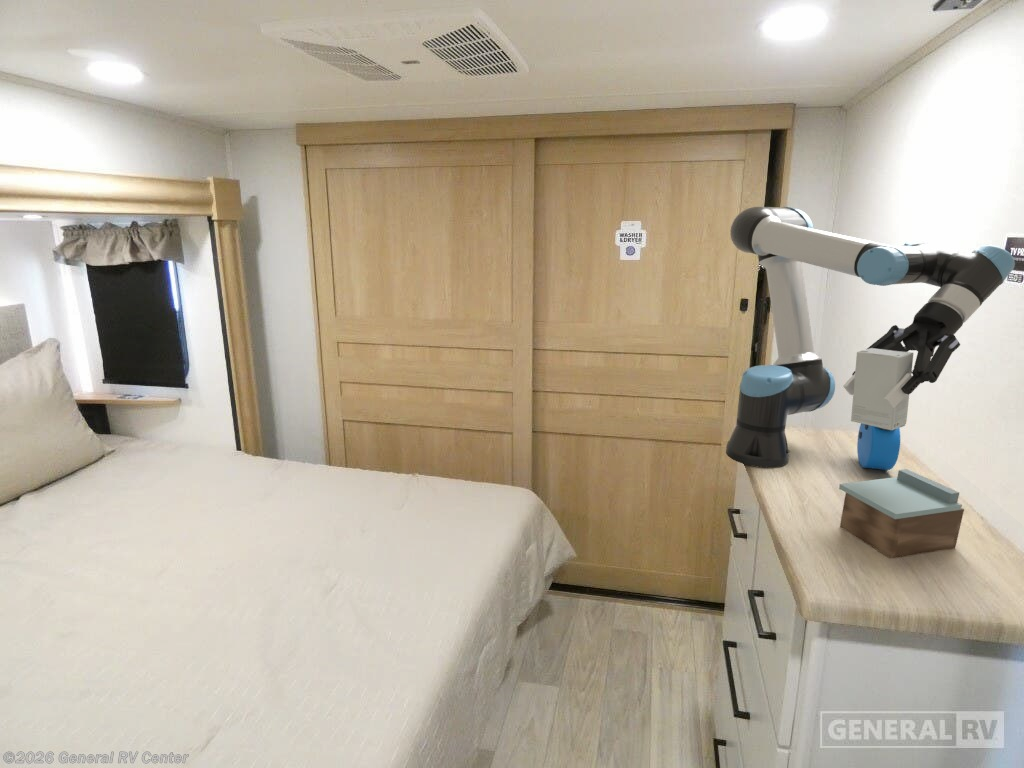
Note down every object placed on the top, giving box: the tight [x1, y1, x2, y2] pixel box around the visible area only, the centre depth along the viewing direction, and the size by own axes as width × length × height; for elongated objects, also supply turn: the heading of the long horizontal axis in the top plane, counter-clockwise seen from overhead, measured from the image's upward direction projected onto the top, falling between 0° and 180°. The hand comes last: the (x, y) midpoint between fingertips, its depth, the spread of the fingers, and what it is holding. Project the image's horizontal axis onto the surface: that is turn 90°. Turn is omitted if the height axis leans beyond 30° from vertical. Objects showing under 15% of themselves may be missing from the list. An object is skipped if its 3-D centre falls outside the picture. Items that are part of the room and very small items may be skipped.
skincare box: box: [850, 348, 914, 430], centre depth 117 cm, size 8×6×15 cm
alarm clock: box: [856, 423, 901, 475], centre depth 146 cm, size 13×6×15 cm, turn 163°
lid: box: [838, 468, 963, 519], centre depth 112 cm, size 13×15×3 cm
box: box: [839, 492, 965, 559], centre depth 114 cm, size 12×15×8 cm
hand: (867, 396), depth 117 cm, fingers closed on skincare box, 9 cm apart
